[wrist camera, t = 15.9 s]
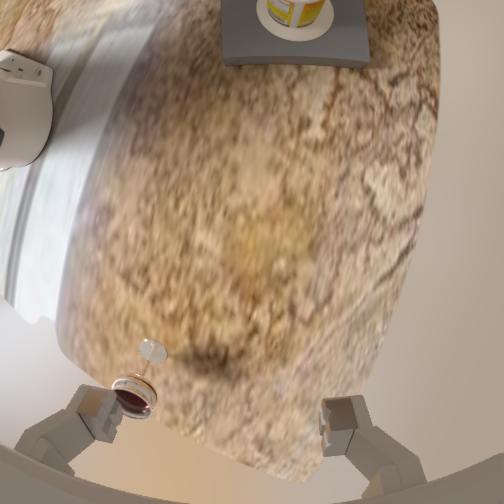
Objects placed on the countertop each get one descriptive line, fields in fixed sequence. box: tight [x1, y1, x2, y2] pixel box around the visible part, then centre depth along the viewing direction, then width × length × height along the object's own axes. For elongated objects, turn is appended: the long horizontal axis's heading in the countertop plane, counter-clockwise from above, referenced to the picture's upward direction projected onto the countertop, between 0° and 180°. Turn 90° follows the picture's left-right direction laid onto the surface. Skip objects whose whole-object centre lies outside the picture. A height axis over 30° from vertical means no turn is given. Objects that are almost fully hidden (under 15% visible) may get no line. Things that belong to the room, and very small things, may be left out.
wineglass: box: [111, 340, 167, 420], centre depth 40 cm, size 7×7×12 cm
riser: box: [221, 0, 370, 69], centre depth 26 cm, size 16×12×4 cm
